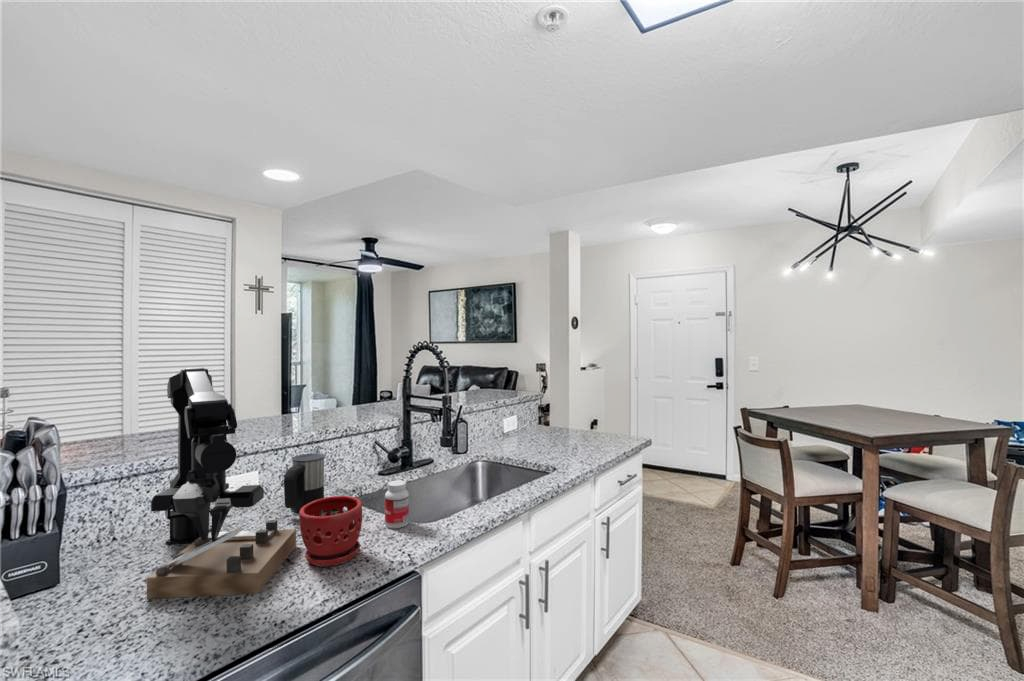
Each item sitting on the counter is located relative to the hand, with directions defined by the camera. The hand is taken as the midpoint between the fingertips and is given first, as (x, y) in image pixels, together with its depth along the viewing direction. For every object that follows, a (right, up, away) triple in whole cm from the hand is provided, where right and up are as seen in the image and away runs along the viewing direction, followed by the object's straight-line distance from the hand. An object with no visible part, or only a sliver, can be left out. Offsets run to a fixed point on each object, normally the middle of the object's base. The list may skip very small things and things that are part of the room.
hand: (209, 540), depth 95 cm
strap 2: (-2, -5, +13) cm, 14 cm away
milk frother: (+4, -9, +41) cm, 43 cm away
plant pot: (+20, -9, +12) cm, 25 cm away
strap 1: (-1, -2, 0) cm, 2 cm away
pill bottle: (+30, -9, +31) cm, 44 cm away
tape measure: (+16, -9, +29) cm, 35 cm away
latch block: (0, -9, +7) cm, 11 cm away
